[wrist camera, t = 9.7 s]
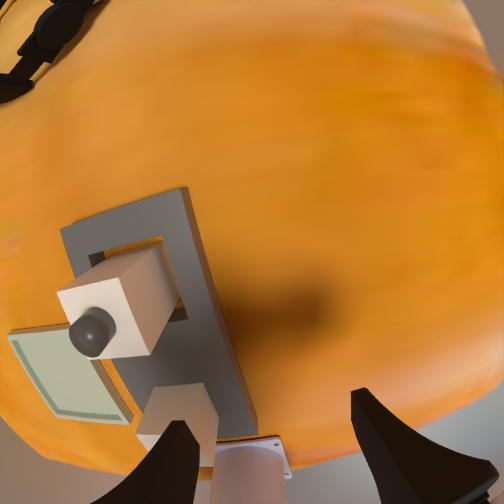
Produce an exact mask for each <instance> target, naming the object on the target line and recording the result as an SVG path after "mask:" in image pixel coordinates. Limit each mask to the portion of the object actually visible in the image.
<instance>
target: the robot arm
mask: <svg viewBox="0 0 504 504" xmlns="http://www.w3.org/2000/svg"><path fill="white" fill-rule="evenodd" d="M351 421H352V424H353V428H354V431H355V434H356V438H357V440H358V443H359V445H360V447H361V450H362V452H363V454H364V456H365V458H366V461H367V463H368V465H369V468H370V470H371V472H372V474H373V477H374V480H375V482H376V485H377V488H378V492H379V496H380V500H381V504H504V491H503V492H502V493H501V494H500V495H498V496H497V497H496V498H494V499H493V500H492V501H491V502H490V503H489V501H488V500H487V498H489V494H488V492H487V490H488V489H489V488H490V487H491V486H492V485H493V484H494V483H495V482H496V481H497V479H498V478H499V473H498V471H497V470H496V468H495V467H494V466H493V465H492V463H491V462H490V461H488V460H483V459H478V458H474V457H471V456H467V455H464V454H461V453H458V452H455V451H453V450H450V449H448V448H446V447H443V446H441V445H439V444H437V443H435V442H433V441H431V440H429V439H427V438H426V437H424V436H422V435H421V434H419V433H418V432H416V431H415V430H413V429H412V428H410V427H409V426H407V425H406V424H405V423H403V422H402V421H401V420H400V419H398V418H397V417H396V416H395V415H394V414H392V413H391V412H390V411H389V410H388V409H387V408H386V407H385V406H383V405H382V404H381V403H380V402H379V401H378V400H377V399H376V398H375V397H374V396H373V395H372V394H371V392H370V391H369V390H368V389H367V388H365V387H364V388H360V389H357V390H354V391H351ZM199 465H200V445H199V443H198V441H197V440H196V438H195V437H194V435H193V434H192V432H191V430H190V429H189V427H188V425H187V424H186V422H185V420H172V421H171V422H170V424H169V425H168V427H167V428H166V429H165V431H164V432H163V434H162V435H161V436H160V438H159V439H158V441H157V442H156V443H155V445H154V446H153V447H152V449H151V450H150V451H149V453H148V454H147V455H146V456H145V458H144V459H143V460H142V461H141V462H140V464H139V465H138V466H137V467H136V468H135V469H134V470H133V471H132V472H131V473H130V474H129V475H128V476H127V477H126V478H125V479H124V480H123V481H122V482H121V483H120V484H119V485H117V486H116V487H115V488H113V489H112V490H111V491H109V492H108V493H107V494H105V495H104V496H102V497H101V498H99V499H98V500H96V501H94V502H92V503H91V504H193V501H194V495H195V489H196V483H197V477H198V471H199ZM290 478H292V473H291V470H290V467H289V464H288V461H287V458H286V454H285V451H284V448H283V445H282V441H281V438H280V437H269V438H263V439H256V440H248V441H239V442H229V443H216V450H215V460H214V467H213V476H212V486H211V496H210V504H287V497H286V487H285V479H290Z"/></svg>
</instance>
